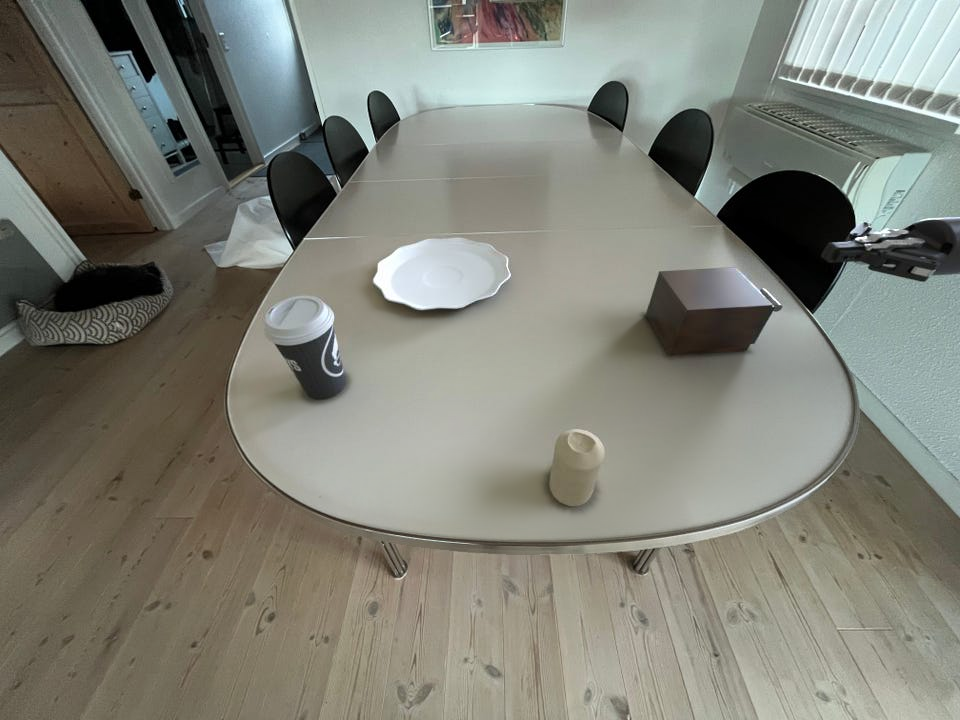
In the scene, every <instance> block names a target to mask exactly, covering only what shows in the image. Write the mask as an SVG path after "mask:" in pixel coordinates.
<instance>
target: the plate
mask: <svg viewBox="0 0 960 720" xmlns="http://www.w3.org/2000/svg"><path fill="white" fill-rule="evenodd" d="M508 266H509V258H508V257H507V255H504V254H503V253H501V252H499V251H497V250H496V249H495V248H494V247H493V246H492V245H491V244H488V243H486V242H480V241H479V242H478V241H476V240H475V241H474V240H470V239H468V238H464V237H449V238H426V239H423V240H421V241H418V242H416V243H412V244H407V245H402V246H400V247H398V248H396V249H395V251H393V252H392V253H391V254H390V255H388V256H386V257H385V258H383V259H382V260H380V261H379V262H378V263H377V265H376V273H375V275H374V277H373V278H372V284H373V285H374V286H375V287H376V288H377V289H378V290H379V291H380V292H381V294H382V296H383V298H384V300H386V301H387V302H389V303H390V302H391V303H394V304H400V305H404V306H405V307H408V308H411V309H412V310H415V311H422V312H423V311H424V312H425V311H432V310H460V309H464V308H466V307H468V306H470V305H472V304H475V303H476V302H480V301H483V300H487V299H490V298H492V297H494V296H496V295H497V293H498V291H499V290H500V288H501V287H502V286H503V285H504V284H506V282H507V281H508V280H510V279H511V272H510V269H509V267H508Z"/></svg>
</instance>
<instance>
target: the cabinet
mask: <svg viewBox="0 0 960 720" xmlns="http://www.w3.org/2000/svg"><path fill="white" fill-rule="evenodd" d="M741 273H742V272H741V271H739V270H738V268H737V267H735V266H729V267H728V266H727V267H713V268H712V267H711V268H693V269H675V270H660V271H658V274H657V277H656V279H655V280H656V281H655V284H654V287H653V289H652V292H651V297H650V300H649V302H648V305H647V310H646V311H645V312H646V313H645V316H646V318H647V320H648V321H649V323H650V325H651V326H652V328H653V330H654V331H655V333H656V335H657V337H658V339H659V340H660V342H661V344H662V345H663V347H664V348H665V350H666V352H667V354H668V355H669V356H681V355H696V354H714V353H729V352H731V353H732V352H747V351H748V350H749V348H750V346H751V345H752V344H751V343H752V341H753V339H754V338H755V336H756V334H757V332H758V331H759V329H760V327H761V325H762V324H763V322H764V320H765V318H766V316H767V315H768V313H769V311H770V309H771V308H772V306H773V305H772V304H771V303H770V302H769V301H768V300H767V299H766V298H765V297H764V296H763V295H762V294H761V293H760V292H759V291H758V290H759V289H758V288H757V287H756V286H755V285H754V284H753V283H752V282H751V281H750V280H749V279H748V278H747V277H746V276H745V275H744V274H743V273H742V274H743V275H744V276H745V277H746V278H747V279H748V280H749V281H750V282H751V283H752V284H753V285H754V286H755V287H756V288H757V289H758V290H757V289H756V288H755V287H754V286H753V285H752V284H751V283H750V282H749V281H748V280H747V279H746V278H745V277H744V276H743V275H742V274H741Z"/></svg>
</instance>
